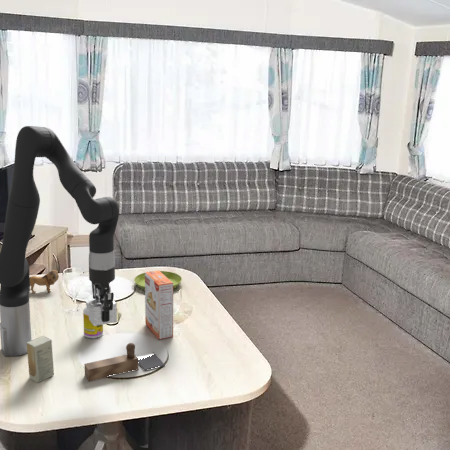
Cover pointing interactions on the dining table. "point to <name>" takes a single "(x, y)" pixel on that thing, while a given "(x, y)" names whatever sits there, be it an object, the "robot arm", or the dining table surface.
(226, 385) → the dining table surface
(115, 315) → the lever cap
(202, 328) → the dining table surface
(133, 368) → the body
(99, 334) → the supplement bottle
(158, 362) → the rubber mat
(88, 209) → the robot arm
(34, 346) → the skincare box
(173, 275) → the saucer
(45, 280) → the lion figurine
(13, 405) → the dining table surface
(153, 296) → the cracker box
